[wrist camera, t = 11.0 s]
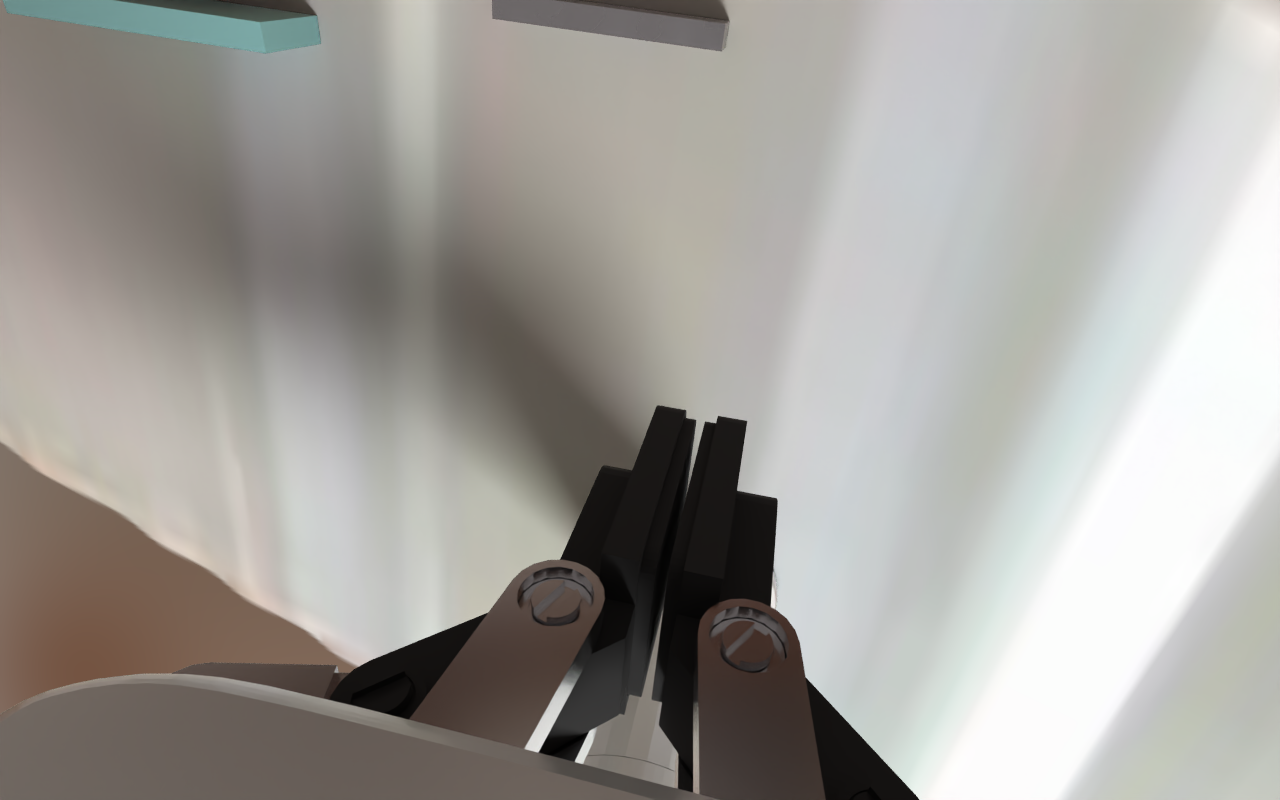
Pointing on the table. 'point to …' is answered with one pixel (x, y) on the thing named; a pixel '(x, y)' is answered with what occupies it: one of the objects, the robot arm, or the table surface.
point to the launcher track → (616, 21)
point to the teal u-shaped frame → (184, 21)
